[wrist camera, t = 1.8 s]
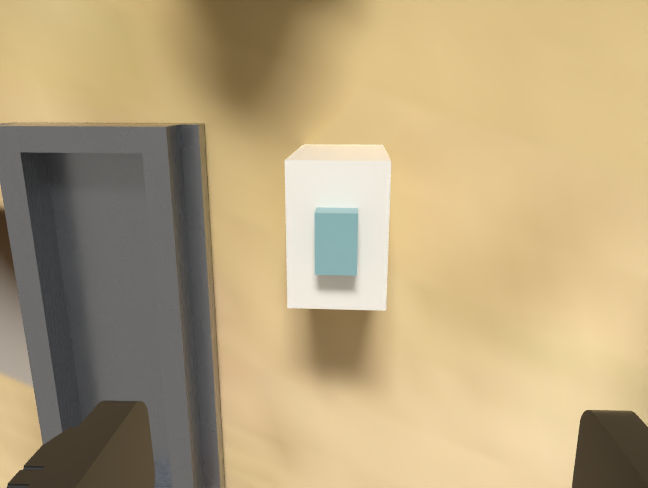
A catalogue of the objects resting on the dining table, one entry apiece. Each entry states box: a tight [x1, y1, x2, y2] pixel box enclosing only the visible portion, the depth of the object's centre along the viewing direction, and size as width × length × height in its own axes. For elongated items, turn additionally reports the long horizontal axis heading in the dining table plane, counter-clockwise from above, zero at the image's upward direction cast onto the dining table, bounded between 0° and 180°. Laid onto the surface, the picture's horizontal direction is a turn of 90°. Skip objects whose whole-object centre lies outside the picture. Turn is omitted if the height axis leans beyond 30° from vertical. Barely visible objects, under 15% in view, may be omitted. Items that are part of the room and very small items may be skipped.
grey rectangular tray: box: [0, 123, 225, 488], centre depth 29 cm, size 22×10×3 cm, turn 0°
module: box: [285, 144, 391, 311], centre depth 24 cm, size 6×4×8 cm, turn 0°
